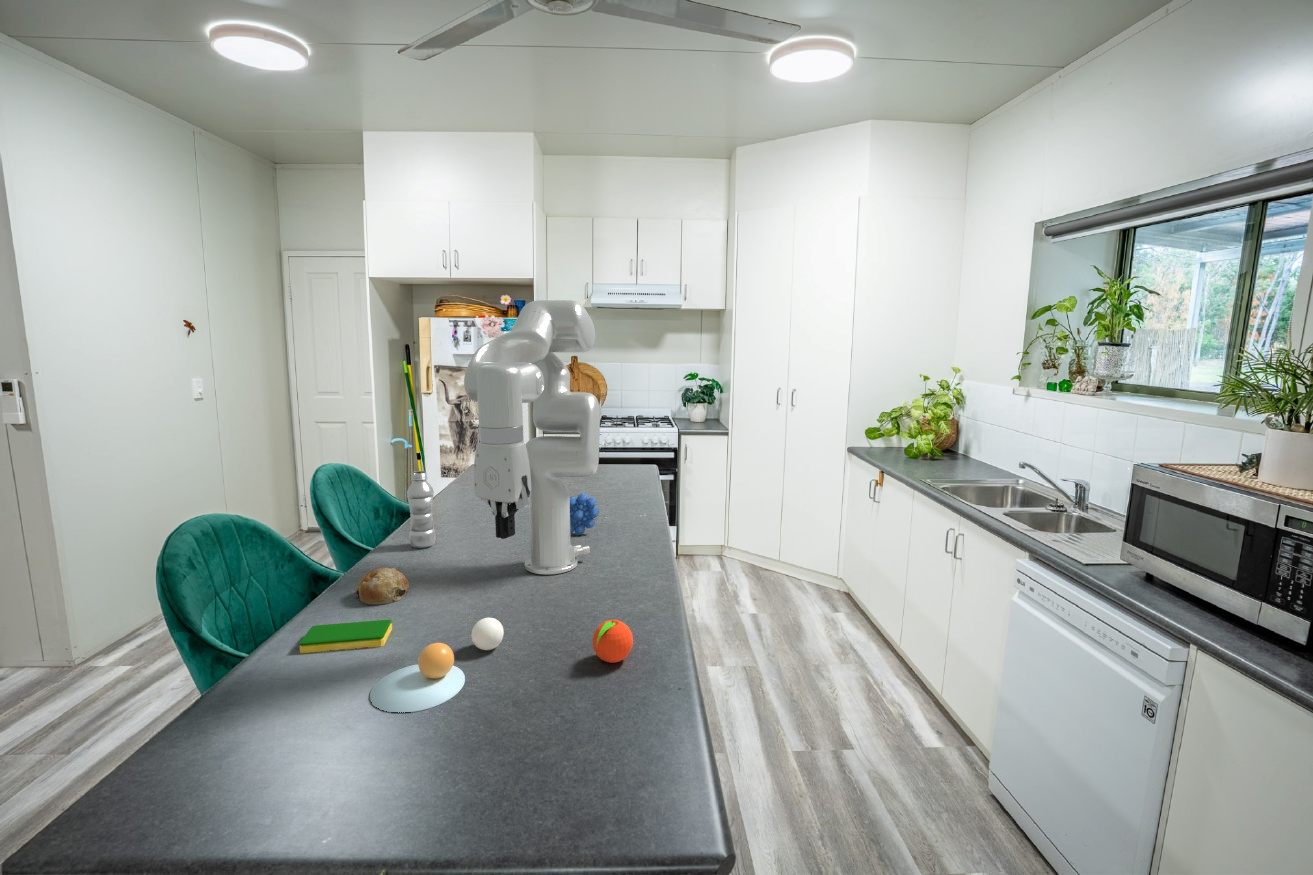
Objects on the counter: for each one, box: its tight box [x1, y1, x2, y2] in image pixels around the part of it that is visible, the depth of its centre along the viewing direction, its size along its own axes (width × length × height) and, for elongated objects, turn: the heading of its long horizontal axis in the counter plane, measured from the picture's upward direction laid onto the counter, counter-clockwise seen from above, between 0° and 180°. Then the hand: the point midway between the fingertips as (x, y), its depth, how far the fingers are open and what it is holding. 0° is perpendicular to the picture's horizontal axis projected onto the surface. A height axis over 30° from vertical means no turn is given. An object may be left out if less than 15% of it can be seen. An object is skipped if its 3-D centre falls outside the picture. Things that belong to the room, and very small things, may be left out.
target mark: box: [369, 663, 466, 714], centre depth 98 cm, size 14×14×1 cm
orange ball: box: [417, 642, 455, 679], centre depth 100 cm, size 6×6×6 cm
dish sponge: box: [298, 619, 393, 654], centre depth 113 cm, size 7×14×2 cm, turn 101°
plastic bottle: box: [406, 470, 437, 549], centre depth 162 cm, size 6×7×20 cm
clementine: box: [592, 619, 634, 664], centre depth 105 cm, size 8×7×7 cm
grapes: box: [569, 492, 600, 536], centre depth 173 cm, size 12×7×12 cm, turn 100°
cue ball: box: [471, 617, 505, 651], centre depth 109 cm, size 6×6×6 cm
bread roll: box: [353, 567, 410, 606], centre depth 132 cm, size 10×10×8 cm
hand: (505, 536), depth 112 cm, fingers closed
